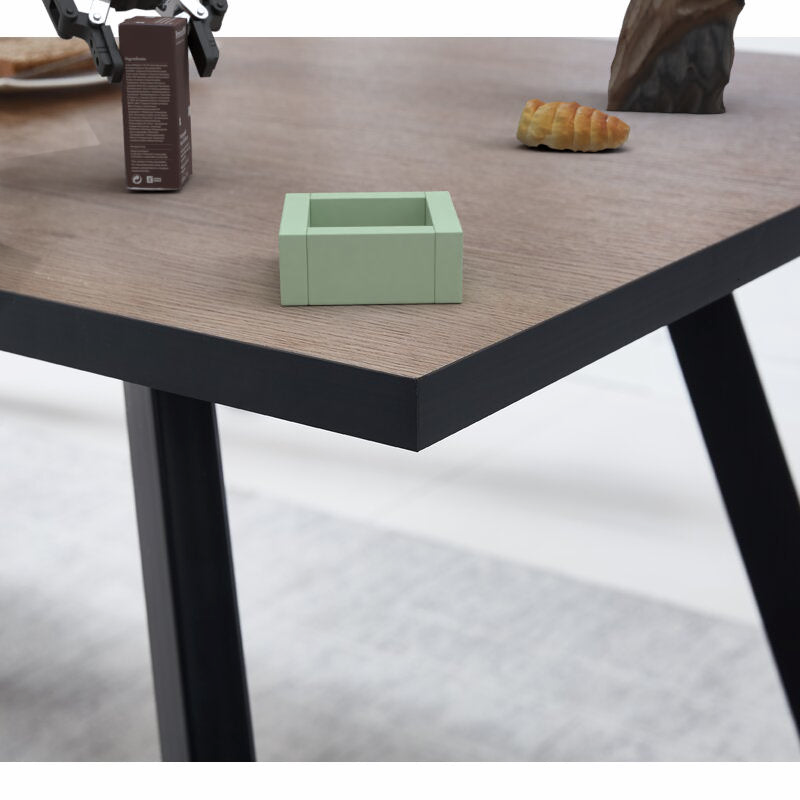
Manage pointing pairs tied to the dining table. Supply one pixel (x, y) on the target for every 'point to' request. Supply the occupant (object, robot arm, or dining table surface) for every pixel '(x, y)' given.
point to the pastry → (570, 127)
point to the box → (155, 102)
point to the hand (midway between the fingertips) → (163, 73)
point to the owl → (674, 56)
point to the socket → (370, 248)
